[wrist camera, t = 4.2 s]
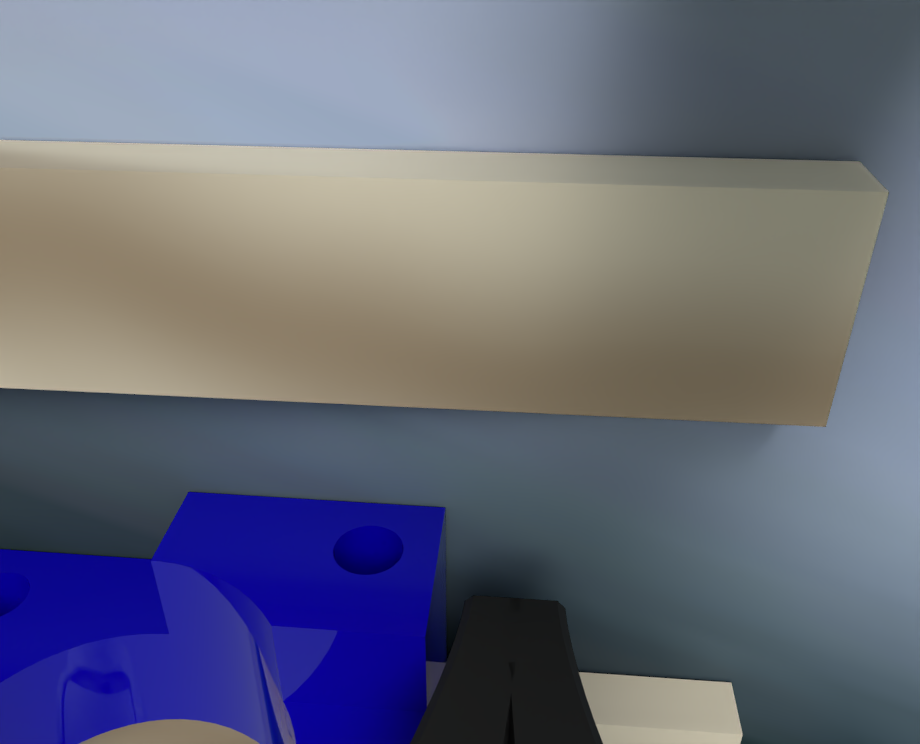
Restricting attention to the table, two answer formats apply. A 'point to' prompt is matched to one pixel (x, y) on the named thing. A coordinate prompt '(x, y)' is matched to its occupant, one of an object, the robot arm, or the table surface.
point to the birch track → (441, 301)
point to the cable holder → (233, 626)
